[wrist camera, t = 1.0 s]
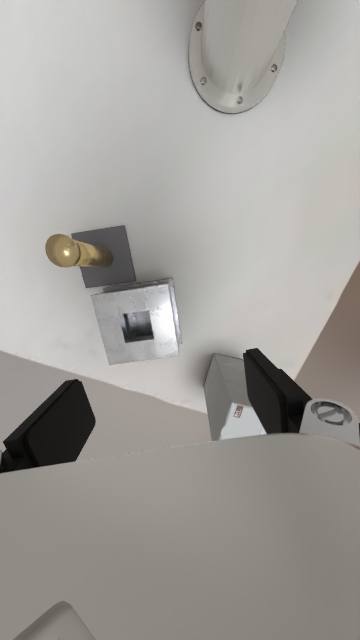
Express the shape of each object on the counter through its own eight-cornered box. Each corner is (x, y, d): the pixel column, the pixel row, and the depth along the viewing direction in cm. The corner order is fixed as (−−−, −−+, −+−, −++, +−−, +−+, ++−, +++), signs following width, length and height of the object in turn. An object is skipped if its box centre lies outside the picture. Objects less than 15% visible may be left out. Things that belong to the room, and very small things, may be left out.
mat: (72, 234, 31) (71, 233, 31) (124, 225, 31) (124, 225, 31) (86, 287, 34) (85, 288, 33) (135, 280, 33) (135, 280, 33)
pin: (91, 249, 32) (41, 236, 20) (111, 246, 31) (71, 231, 20) (97, 269, 32) (51, 269, 21) (116, 266, 32) (80, 264, 21)
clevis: (106, 287, 34) (86, 292, 26) (172, 278, 33) (170, 280, 26) (121, 348, 37) (107, 368, 29) (181, 340, 36) (182, 358, 29)
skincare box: (231, 393, 39) (265, 471, 24) (199, 386, 39) (211, 461, 24) (244, 357, 37) (290, 418, 22) (210, 349, 37) (232, 406, 22)
